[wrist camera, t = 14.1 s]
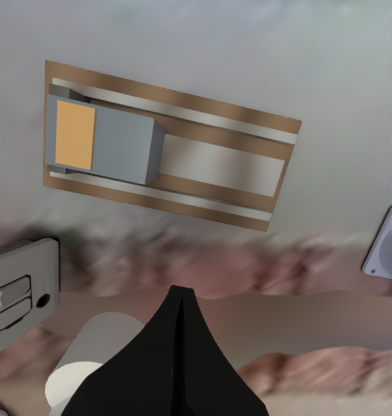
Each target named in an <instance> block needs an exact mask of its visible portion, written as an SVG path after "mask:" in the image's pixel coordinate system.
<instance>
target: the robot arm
mask: <svg viewBox="0 0 392 416" xmlns="http://www.w3.org/2000/svg"><path fill="white" fill-rule="evenodd" d="M371 270H372V271H371ZM362 271H363V272H364V273H365V274H369V275H374V276H379V277H384V278H389V279H392V208H391V209H390V211H389V213H388V215H387V217H386V219H385V221H384V224H383V226H382V228H381V230H380V232H379V234H378V236H377V238H376V240H375V242H374V244H373V246H372V249H371V251H370V253H369V255H368V257H367V259H366V261H365V263H364V265H363V267H362ZM171 373H172V376H171ZM60 416H269V414H268V411H267V409H266V406H265V404H264V403H263V402H262V401H261V400H260V399H259V398H258V397H257V395H256V394H255V393H254V392H253V391H252V390H251V389H250V388H249V387H248V386H247V385H246V383H245V382H244V381H243V380H242V379H241V377H240V376H239V375H238V374H237V373H236V371H235V370H234V369H233V367H232V366H231V365H230V363H229V362H228V360H227V359H226V357H225V356H224V355H223V353H222V351H221V350H220V348H219V347H218V345H217V343H216V342H215V340H214V338H213V336H212V335H211V333H210V331H209V329H208V327H207V325H206V322H205V320H204V318H203V316H202V313H201V311H200V308H199V306H198V303H197V300H196V296H195V293H194V290H193V289H192V288H186V287H181V286H176V285H172V286H171V287H170V290H169V292H168V294H167V296H166V298H165V300H164V301H163V303H162V304H161V306H160V308H159V309H158V310H157V312H156V313H155V314H154V316H153V317H152V318H151V319H150V321H149V322H148V323H147V324H146V326H145V327H144V328H143V329H142V330H141V331H140V332H139V333H138V334H137V335H136V336H135V337H134V338H133V339H132V340H131V341H130V342H129V343H128V344H127V345H126V346H125V347H124V348H123V349H121V350H120V351H119V352H118V353H117V354H116V355H114V356H113V357H112V358H111V359H110V360H108V361H107V362H106V363H104V364H103V365H102V366H100V367H99V368H98V369H96V370H95V371H94V372H92V373H91V374H89V375H88V376H87V377H86V378H85V379H84V380H83V382H82V383H81V384H80V386H79V387H78V388H77V390H76V391H75V393H74V394H73V396H72V397H71V399H70V400H69V402H68V403H67V405H66V406H65V408H64V410H63V412H62V414H61V415H60Z"/></svg>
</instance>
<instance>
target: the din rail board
mask: <svg viewBox="0 0 392 416" xmlns="http://www.w3.org/2000/svg"><path fill="white" fill-rule="evenodd" d="M47 94H50V95H55V96H59V97H63V98H68V99H72V100H76V101H81V102H85V103H89V104H94V105H98V106H102V107H107V108H111V109H115V110H120V111H124V112H129V113H133V114H137V115H142V116H146V117H150V118H155V119H156V120H157V121H158V122H159V123H160V124H161V125H162V126H163V127H164V128H165V129H166V131H165V137H164V143H163V149H162V155H161V161H160V168H159V174H158V178H156V179H154V180H153V181H151V182H149V183H147V184H145V185H144V184H139V183H134V182H130V181H125V180H120V179H115V178H111V177H106V176H101V175H97V174H92V173H87V172H82V171H78V170H73V169H68V168H63V167H59V166H54V165H49V164H46V124H47ZM301 123H302V121H300V120H296V119H291V118H287V117H283V116H279V115H275V114H270V113H266V112H262V111H258V110H254V109H249V108H245V107H241V106H237V105H233V104H228V103H224V102H220V101H216V100H212V99H207V98H203V97H199V96H195V95H191V94H186V93H182V92H178V91H174V90H170V89H165V88H161V87H157V86H153V85H149V84H144V83H140V82H136V81H132V80H128V79H123V78H119V77H115V76H111V75H107V74H102V73H98V72H94V71H90V70H86V69H81V68H77V67H73V66H69V65H65V64H60V63H56V62H52V61H48V60H45V105H44V160H43V186H46V187H51V188H56V189H61V190H65V191H70V192H75V193H80V194H85V195H90V196H95V197H100V198H104V199H109V200H114V201H119V202H124V203H129V204H134V205H139V206H143V207H148V208H153V209H158V210H163V211H168V212H173V213H177V214H182V215H187V216H192V217H197V218H202V219H207V220H212V221H216V222H221V223H226V224H231V225H236V226H241V227H246V228H251V229H255V230H260V231H265V232H266V231H267V228H268V225H269V222H270V220H271V217H272V212H273V209H274V206H275V203H276V200H277V197H278V194H279V191H280V188H281V185H282V182H283V178H284V175H285V172H286V169H287V166H288V163H289V160H290V157H291V154H292V151H293V148H294V145H295V143H296V140H297V137H298V132H299V129H300V126H301Z"/></svg>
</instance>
